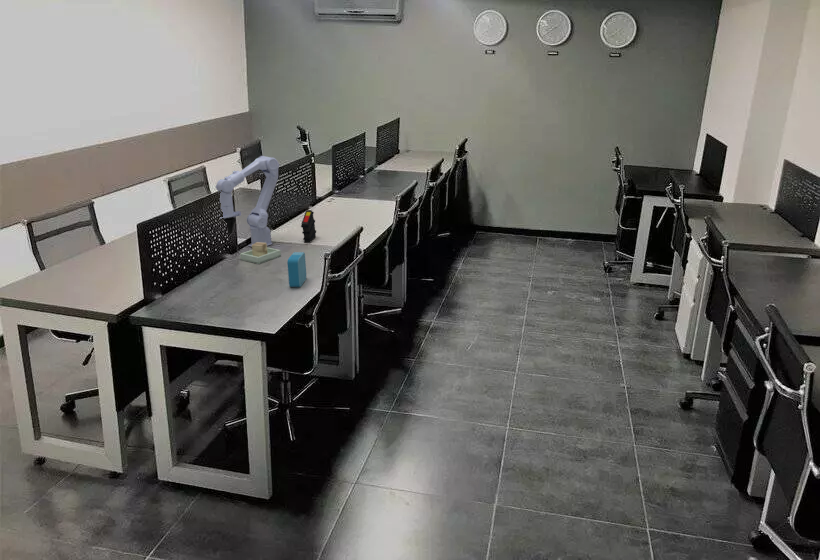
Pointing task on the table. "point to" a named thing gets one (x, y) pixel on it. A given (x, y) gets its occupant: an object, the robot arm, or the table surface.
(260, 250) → the birch block
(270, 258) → the sage tray
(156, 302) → the table surface
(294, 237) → the table surface
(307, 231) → the black ridged block
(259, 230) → the robot arm
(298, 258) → the data package
